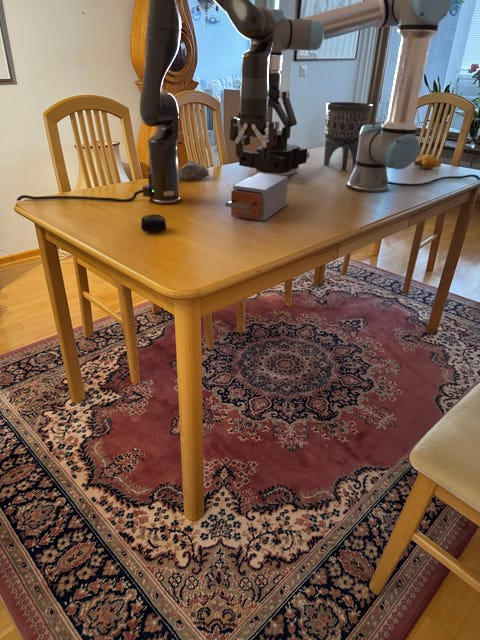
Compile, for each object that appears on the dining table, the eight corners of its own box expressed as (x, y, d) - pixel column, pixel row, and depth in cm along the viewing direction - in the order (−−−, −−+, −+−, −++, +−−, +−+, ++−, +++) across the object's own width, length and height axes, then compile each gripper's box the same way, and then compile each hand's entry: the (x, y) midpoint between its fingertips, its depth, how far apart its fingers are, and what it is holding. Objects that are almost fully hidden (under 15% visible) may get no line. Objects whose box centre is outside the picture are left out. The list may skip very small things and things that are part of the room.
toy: (415, 162, 205) (409, 155, 218) (417, 175, 208) (411, 168, 221) (441, 154, 202) (433, 147, 215) (443, 168, 205) (435, 160, 218)
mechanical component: (240, 120, 182) (283, 115, 202) (239, 174, 192) (280, 164, 212) (283, 126, 170) (325, 120, 190) (280, 183, 180) (320, 171, 200)
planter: (313, 167, 208) (319, 103, 195) (331, 160, 222) (338, 101, 209) (353, 173, 199) (362, 107, 185) (369, 166, 213) (379, 104, 199)
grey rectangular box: (263, 220, 139) (265, 189, 134) (232, 215, 143) (233, 185, 138) (285, 205, 155) (287, 176, 150) (257, 200, 158) (258, 172, 154)
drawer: (251, 224, 133) (251, 199, 129) (222, 220, 136) (222, 195, 132) (280, 204, 151) (282, 181, 148) (254, 200, 155) (255, 178, 151)
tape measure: (141, 234, 126) (140, 221, 124) (142, 226, 132) (141, 214, 130) (166, 233, 127) (165, 220, 125) (166, 225, 133) (165, 213, 131)
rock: (201, 174, 190) (201, 158, 187) (214, 178, 185) (214, 162, 181) (174, 179, 183) (173, 162, 179) (187, 183, 177) (186, 166, 174)
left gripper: (224, 95, 122) (224, 158, 130) (269, 98, 115) (266, 164, 123) (240, 94, 128) (239, 154, 136) (284, 97, 121) (280, 160, 129)
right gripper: (226, 70, 138) (226, 144, 149) (301, 73, 127) (294, 153, 137) (239, 70, 144) (238, 141, 154) (312, 73, 132) (305, 149, 143)
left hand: (252, 159), depth 130 cm, fingers open, 8 cm apart
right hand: (264, 147), depth 146 cm, fingers open, 13 cm apart
